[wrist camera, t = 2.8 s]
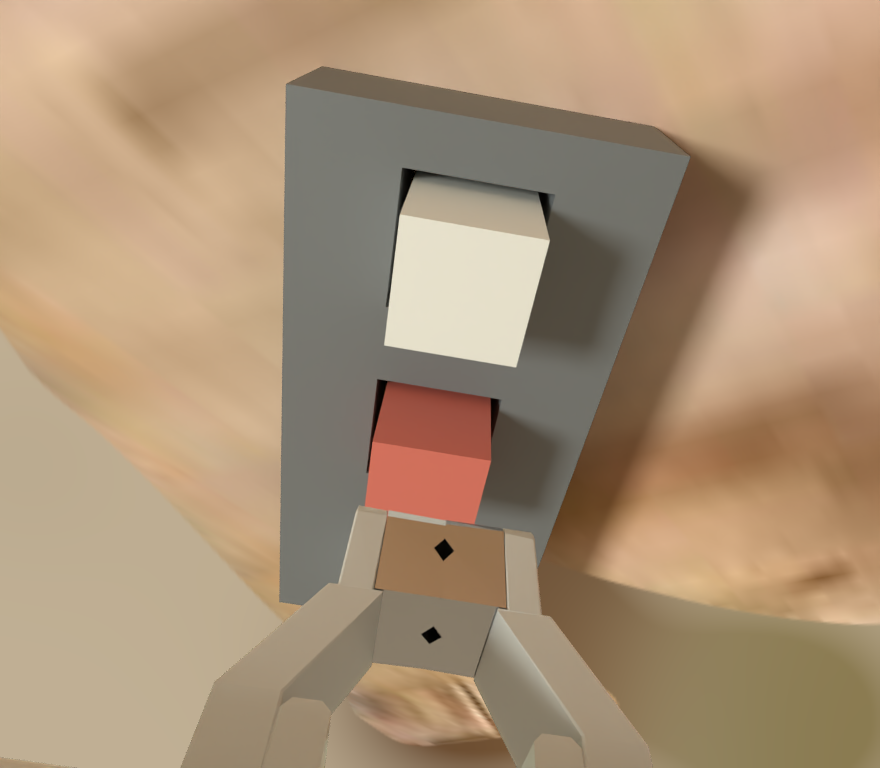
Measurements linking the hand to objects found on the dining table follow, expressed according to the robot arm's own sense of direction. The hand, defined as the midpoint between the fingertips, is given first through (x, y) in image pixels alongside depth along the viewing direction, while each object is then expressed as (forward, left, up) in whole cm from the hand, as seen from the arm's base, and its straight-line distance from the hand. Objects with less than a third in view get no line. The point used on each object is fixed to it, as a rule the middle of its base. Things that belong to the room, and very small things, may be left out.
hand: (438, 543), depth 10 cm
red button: (0, +8, -15) cm, 17 cm away
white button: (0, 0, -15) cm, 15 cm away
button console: (0, +8, -18) cm, 20 cm away
